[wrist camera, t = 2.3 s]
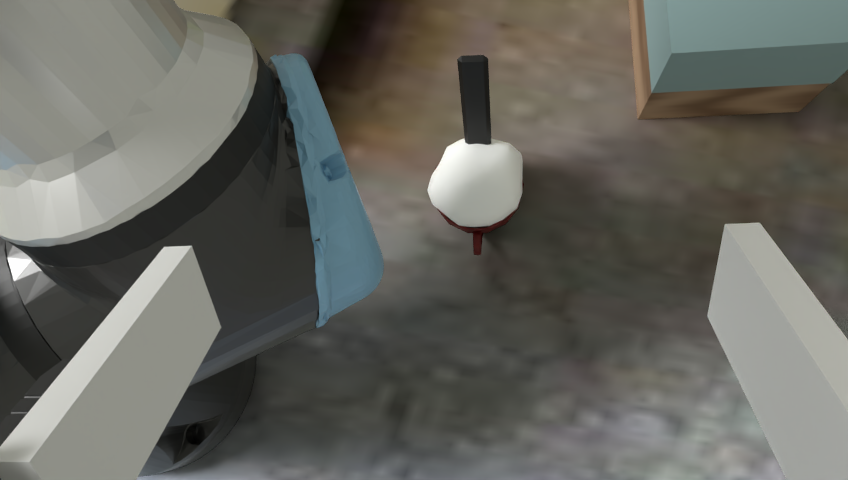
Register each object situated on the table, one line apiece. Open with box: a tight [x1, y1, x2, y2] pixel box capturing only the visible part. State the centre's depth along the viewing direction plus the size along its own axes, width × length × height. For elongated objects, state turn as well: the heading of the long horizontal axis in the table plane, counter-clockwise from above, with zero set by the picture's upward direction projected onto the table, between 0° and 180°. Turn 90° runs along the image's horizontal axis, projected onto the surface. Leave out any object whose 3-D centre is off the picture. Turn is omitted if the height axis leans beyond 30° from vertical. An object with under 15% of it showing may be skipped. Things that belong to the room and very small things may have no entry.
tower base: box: [629, 0, 830, 119], centre depth 42 cm, size 11×11×5 cm
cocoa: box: [427, 55, 524, 255], centre depth 39 cm, size 10×6×12 cm, turn 155°
